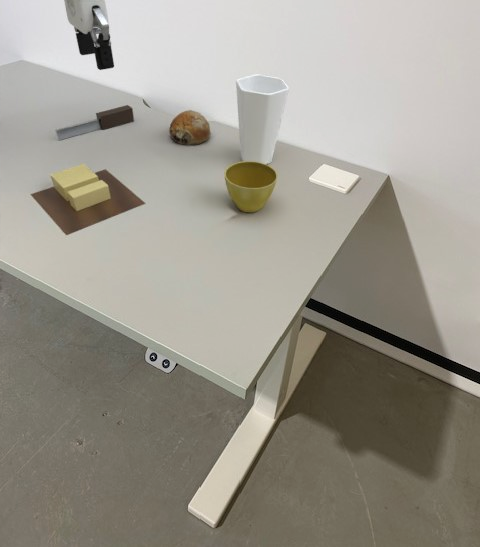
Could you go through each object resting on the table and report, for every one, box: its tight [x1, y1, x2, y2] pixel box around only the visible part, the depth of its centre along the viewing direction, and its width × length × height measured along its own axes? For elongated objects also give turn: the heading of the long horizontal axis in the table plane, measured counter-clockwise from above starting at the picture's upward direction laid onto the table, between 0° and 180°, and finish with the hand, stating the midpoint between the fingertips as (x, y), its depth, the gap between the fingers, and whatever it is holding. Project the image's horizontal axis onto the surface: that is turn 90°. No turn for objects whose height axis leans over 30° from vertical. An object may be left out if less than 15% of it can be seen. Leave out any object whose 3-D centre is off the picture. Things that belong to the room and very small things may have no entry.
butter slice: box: [67, 180, 111, 211], centre depth 79 cm, size 7×2×3 cm, turn 131°
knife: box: [55, 104, 135, 141], centre depth 104 cm, size 20×2×4 cm, turn 131°
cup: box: [235, 73, 290, 165], centre depth 92 cm, size 11×10×17 cm
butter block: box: [49, 163, 99, 201], centre depth 82 cm, size 7×6×3 cm
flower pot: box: [223, 160, 278, 213], centre depth 82 cm, size 10×10×7 cm
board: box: [30, 168, 146, 236], centre depth 81 cm, size 16×16×2 cm
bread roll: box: [168, 109, 211, 146], centre depth 103 cm, size 10×10×8 cm
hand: (96, 61), depth 84 cm, fingers open, 9 cm apart
